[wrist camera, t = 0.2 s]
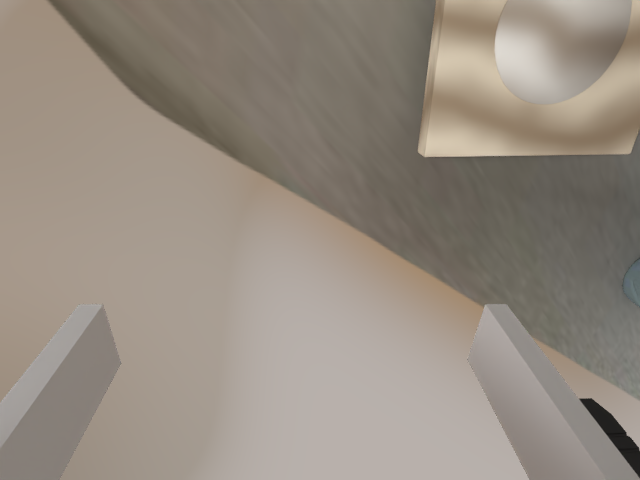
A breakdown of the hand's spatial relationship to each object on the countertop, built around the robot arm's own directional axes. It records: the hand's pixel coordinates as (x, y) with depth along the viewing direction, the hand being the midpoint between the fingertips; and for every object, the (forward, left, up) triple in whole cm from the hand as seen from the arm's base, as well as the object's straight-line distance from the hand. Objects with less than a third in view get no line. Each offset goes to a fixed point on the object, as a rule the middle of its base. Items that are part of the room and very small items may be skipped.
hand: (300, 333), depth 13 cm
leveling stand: (-11, +22, -27) cm, 37 cm away
